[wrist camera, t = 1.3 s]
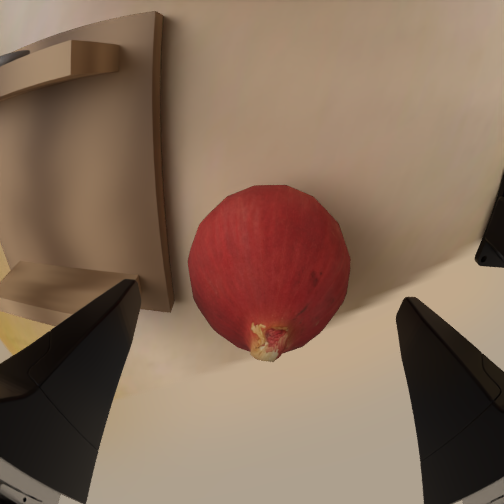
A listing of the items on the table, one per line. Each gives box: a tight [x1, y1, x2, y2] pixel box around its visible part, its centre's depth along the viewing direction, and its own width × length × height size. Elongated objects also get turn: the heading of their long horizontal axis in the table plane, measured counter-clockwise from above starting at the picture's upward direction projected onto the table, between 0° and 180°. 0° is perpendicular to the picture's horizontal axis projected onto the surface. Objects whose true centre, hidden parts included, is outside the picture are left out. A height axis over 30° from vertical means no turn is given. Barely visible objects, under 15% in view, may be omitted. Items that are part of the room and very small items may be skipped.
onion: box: [188, 185, 350, 362], centre depth 11 cm, size 6×6×8 cm
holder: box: [0, 11, 174, 326], centre depth 11 cm, size 12×15×4 cm
